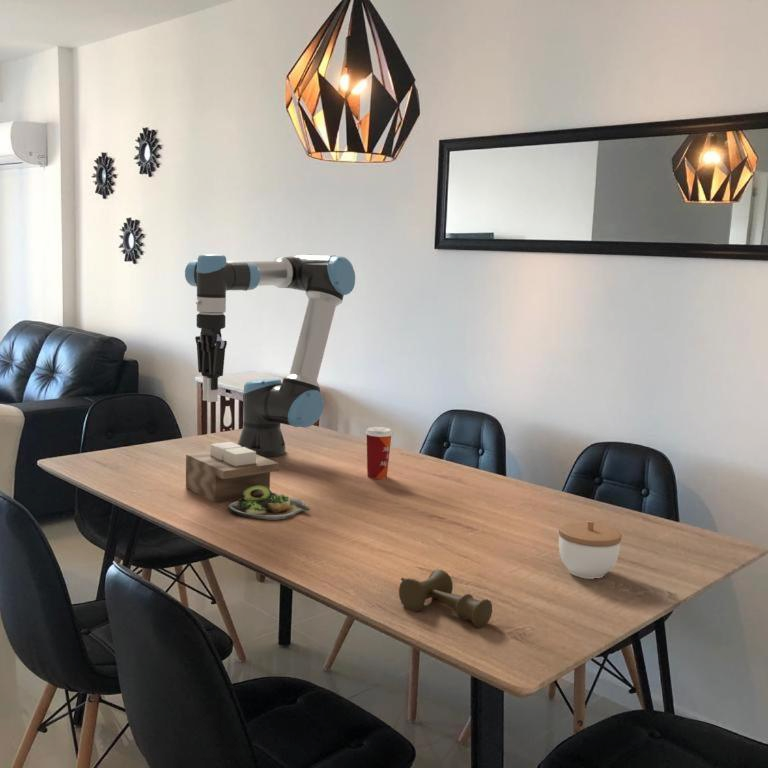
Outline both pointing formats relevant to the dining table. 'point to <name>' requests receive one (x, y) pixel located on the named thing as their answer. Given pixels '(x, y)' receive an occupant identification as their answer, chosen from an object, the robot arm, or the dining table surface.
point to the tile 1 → (221, 449)
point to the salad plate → (266, 504)
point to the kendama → (444, 597)
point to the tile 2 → (239, 456)
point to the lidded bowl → (588, 548)
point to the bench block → (225, 476)
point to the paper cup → (378, 451)
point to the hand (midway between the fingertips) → (210, 400)
